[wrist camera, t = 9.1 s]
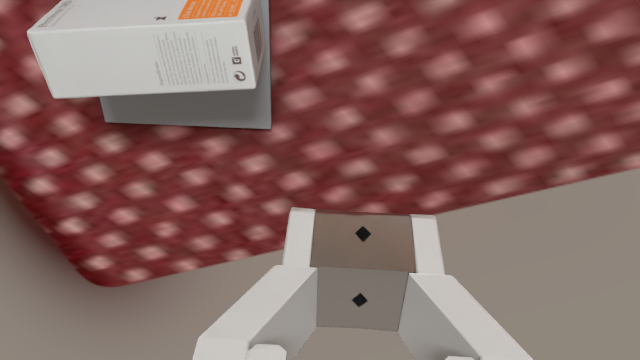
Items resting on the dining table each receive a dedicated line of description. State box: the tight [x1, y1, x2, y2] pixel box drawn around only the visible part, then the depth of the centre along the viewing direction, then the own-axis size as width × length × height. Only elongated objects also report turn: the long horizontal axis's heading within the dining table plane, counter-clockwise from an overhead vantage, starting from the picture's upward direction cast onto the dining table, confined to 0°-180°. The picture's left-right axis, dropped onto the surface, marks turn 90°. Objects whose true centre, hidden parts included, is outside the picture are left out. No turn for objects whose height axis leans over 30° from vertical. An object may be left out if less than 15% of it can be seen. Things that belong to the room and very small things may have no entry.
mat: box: [99, 0, 272, 129], centre depth 35 cm, size 12×14×1 cm
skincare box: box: [27, 0, 266, 99], centre depth 32 cm, size 6×4×12 cm
